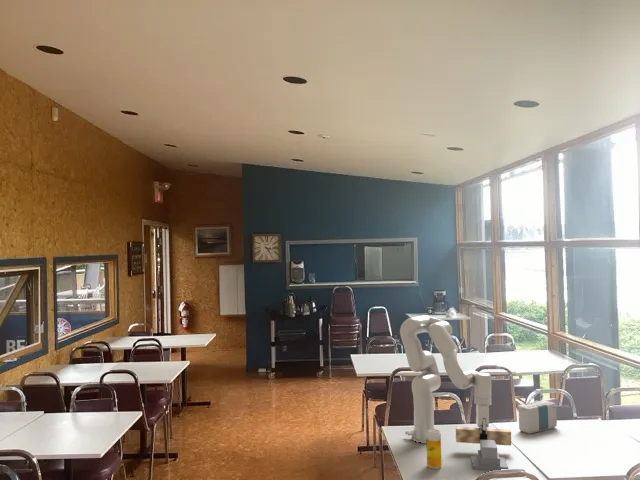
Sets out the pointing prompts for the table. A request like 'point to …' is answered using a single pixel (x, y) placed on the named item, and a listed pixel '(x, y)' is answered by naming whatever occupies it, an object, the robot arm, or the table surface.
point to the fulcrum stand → (488, 457)
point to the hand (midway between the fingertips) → (483, 440)
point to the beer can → (433, 448)
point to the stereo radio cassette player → (537, 416)
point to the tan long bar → (474, 435)
